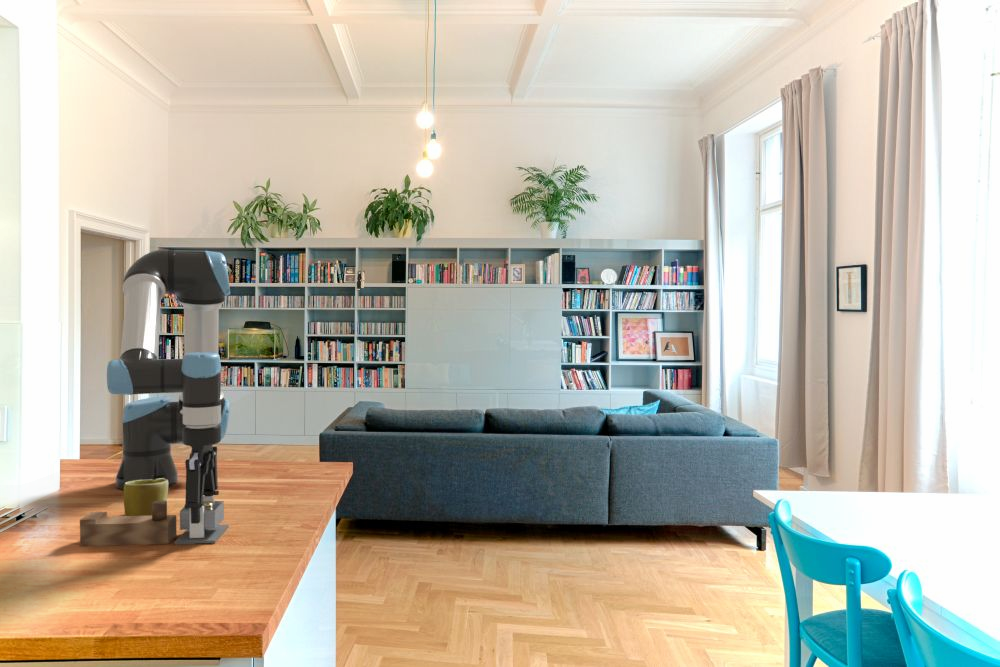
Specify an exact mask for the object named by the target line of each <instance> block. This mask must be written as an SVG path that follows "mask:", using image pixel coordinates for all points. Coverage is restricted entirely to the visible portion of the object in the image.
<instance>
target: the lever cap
mask: <svg viewBox="0 0 1000 667" xmlns="http://www.w3.org/2000/svg"><path fill="white" fill-rule="evenodd" d="M202 504H203V505H202V506H204V529H215V528H216V527H217V526H218V525H221V524H222V522H223V521H224V519H225V513H224V511H225V505H224V504H225V503H224V500H221V501H220V500H218V501H217V500H215V501H206V502H203V503H202ZM179 530H180V531H186V530H190V516H189V508H185V506H184V507H182V508H181V510H179Z"/></svg>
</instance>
